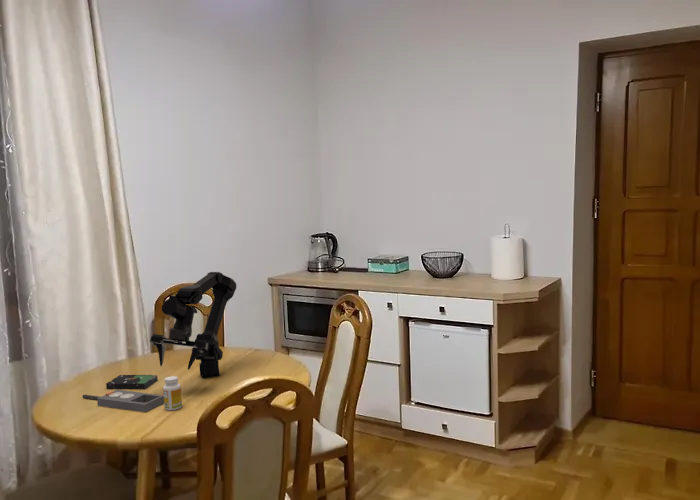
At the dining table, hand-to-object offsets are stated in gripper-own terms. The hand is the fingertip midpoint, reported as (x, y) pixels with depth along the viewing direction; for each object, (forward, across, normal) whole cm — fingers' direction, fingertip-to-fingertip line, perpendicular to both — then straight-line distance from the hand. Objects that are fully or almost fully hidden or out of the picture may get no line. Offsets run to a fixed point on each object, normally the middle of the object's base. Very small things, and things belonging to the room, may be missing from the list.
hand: (174, 367), depth 214 cm
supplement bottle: (+14, +4, -8) cm, 16 cm away
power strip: (+13, -16, +1) cm, 21 cm away
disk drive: (+6, -17, +18) cm, 26 cm away
